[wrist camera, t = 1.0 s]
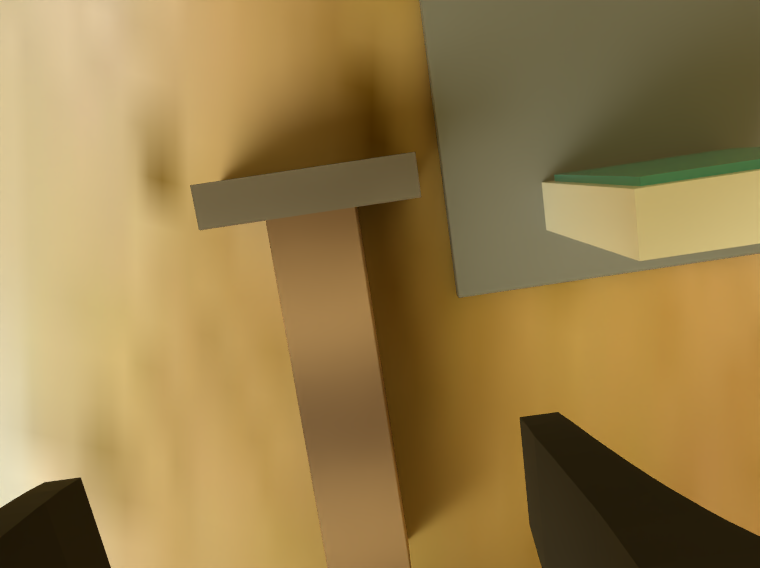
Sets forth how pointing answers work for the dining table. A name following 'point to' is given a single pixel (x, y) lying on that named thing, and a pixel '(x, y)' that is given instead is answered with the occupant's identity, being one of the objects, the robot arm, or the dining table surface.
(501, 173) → the mat
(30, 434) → the dining table surface
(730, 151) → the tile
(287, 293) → the hammer
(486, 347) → the dining table surface
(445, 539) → the dining table surface
